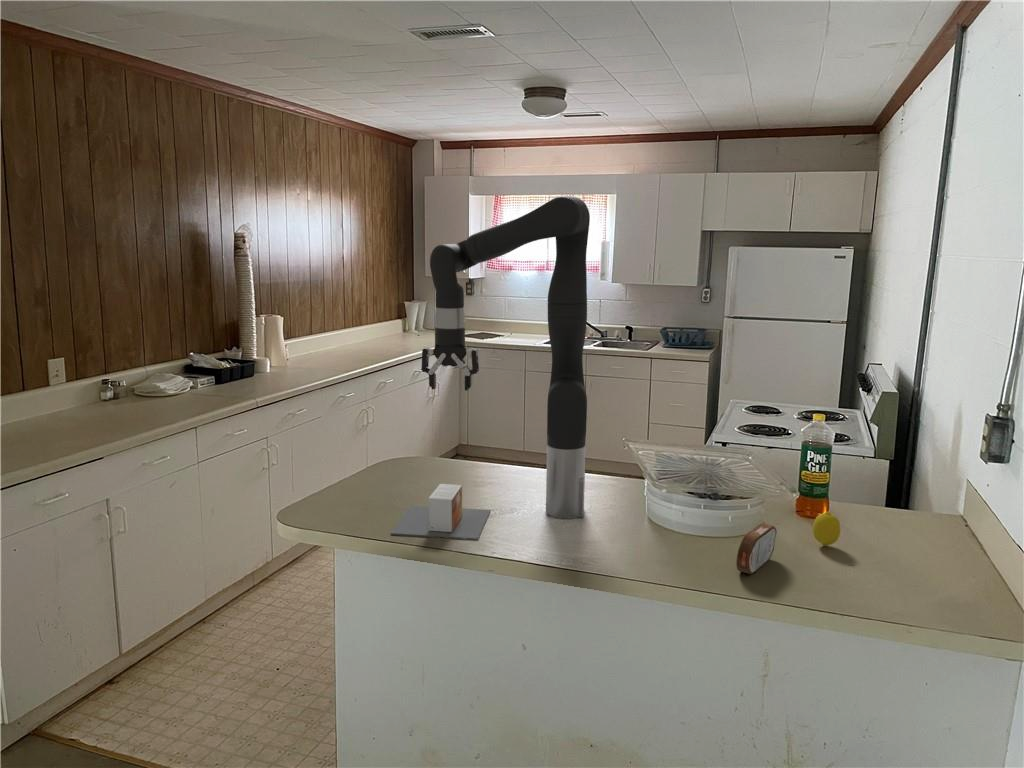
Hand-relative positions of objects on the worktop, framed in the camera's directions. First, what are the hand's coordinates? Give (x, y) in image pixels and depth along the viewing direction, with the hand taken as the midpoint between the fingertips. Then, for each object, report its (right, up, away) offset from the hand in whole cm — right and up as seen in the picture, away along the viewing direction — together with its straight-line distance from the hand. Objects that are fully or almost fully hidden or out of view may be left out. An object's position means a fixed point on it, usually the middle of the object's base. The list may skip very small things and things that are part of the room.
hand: (450, 389), depth 192 cm
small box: (+1, -26, -11) cm, 28 cm away
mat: (-1, -31, -13) cm, 34 cm away
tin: (+66, -37, -36) cm, 83 cm away
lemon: (+84, -35, -25) cm, 95 cm away
